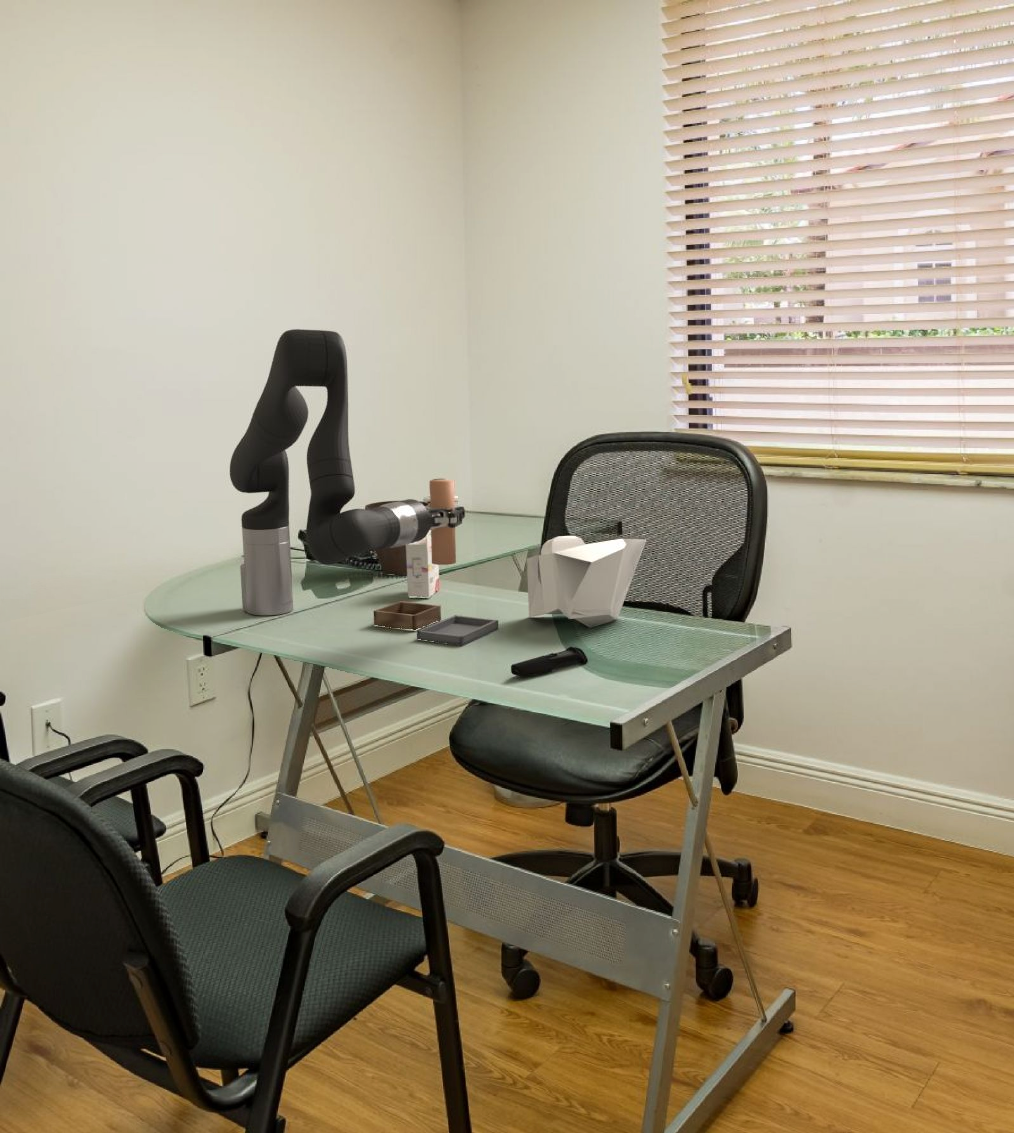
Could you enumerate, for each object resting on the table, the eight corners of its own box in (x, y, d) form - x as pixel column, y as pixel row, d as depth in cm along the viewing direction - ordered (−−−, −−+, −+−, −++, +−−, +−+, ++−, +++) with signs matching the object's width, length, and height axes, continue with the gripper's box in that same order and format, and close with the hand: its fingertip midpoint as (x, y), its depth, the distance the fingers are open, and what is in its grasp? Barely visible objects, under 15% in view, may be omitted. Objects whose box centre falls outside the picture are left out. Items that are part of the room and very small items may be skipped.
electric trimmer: (505, 680, 183) (504, 661, 182) (573, 660, 193) (573, 642, 192) (520, 685, 180) (520, 666, 179) (589, 664, 190) (589, 646, 189)
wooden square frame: (374, 626, 216) (373, 611, 216) (400, 616, 224) (400, 601, 224) (415, 631, 212) (414, 615, 211) (441, 620, 220) (440, 605, 219)
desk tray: (417, 640, 206) (416, 631, 205) (455, 623, 217) (454, 615, 217) (462, 646, 201) (461, 636, 201) (498, 629, 213) (498, 620, 213)
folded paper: (516, 531, 217) (558, 553, 202) (625, 522, 227) (672, 542, 212) (514, 617, 222) (554, 644, 207) (620, 604, 232) (667, 629, 217)
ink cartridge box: (417, 590, 248) (415, 523, 245) (439, 590, 247) (438, 523, 244) (406, 598, 239) (404, 529, 237) (429, 599, 238) (427, 529, 236)
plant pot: (398, 582, 256) (396, 511, 253) (353, 574, 266) (351, 505, 262) (444, 571, 267) (443, 503, 264) (400, 564, 277) (398, 498, 274)
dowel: (427, 563, 207) (425, 481, 205) (440, 559, 211) (438, 478, 209) (447, 565, 205) (445, 482, 203) (460, 561, 209) (458, 479, 206)
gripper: (433, 503, 190) (484, 492, 205) (363, 499, 197) (417, 489, 212) (434, 548, 192) (485, 534, 206) (364, 542, 198) (418, 529, 213)
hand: (450, 511), depth 209 cm, fingers closed on dowel, 4 cm apart
